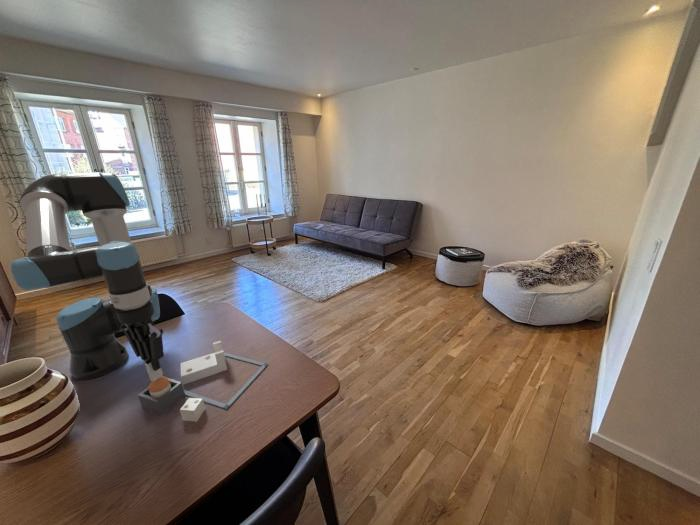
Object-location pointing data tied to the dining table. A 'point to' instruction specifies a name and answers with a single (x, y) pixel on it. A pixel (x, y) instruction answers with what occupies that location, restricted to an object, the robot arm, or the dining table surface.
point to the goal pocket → (226, 406)
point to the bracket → (204, 365)
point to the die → (192, 409)
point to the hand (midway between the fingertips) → (156, 377)
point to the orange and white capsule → (159, 387)
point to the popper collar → (162, 398)
